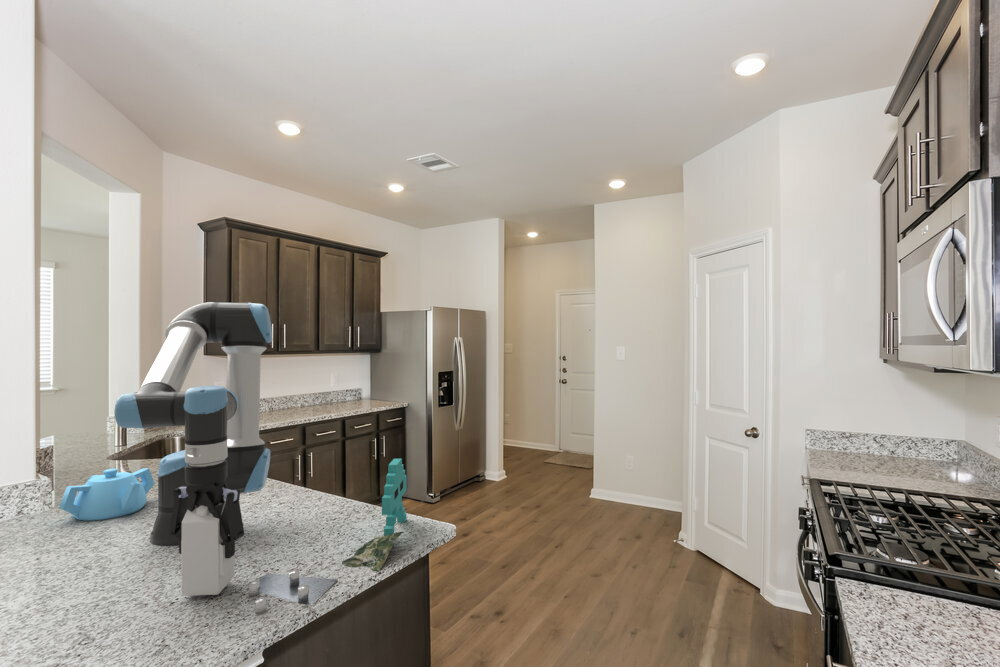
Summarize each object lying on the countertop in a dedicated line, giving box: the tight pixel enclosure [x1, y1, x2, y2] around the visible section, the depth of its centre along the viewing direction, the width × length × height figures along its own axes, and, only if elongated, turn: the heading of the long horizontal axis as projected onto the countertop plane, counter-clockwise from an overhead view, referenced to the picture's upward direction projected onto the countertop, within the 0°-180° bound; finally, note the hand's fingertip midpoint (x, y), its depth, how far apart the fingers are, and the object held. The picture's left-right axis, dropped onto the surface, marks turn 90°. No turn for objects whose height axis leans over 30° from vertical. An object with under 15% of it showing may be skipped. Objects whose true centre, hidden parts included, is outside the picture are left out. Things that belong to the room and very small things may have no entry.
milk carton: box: [181, 496, 236, 597], centre depth 100 cm, size 7×7×19 cm
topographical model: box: [341, 531, 404, 573], centre depth 117 cm, size 16×15×2 cm
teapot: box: [58, 467, 156, 521], centre depth 148 cm, size 19×19×14 cm
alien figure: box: [381, 458, 408, 536], centre depth 133 cm, size 20×2×20 cm, turn 179°
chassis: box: [247, 569, 339, 615], centre depth 98 cm, size 17×17×4 cm
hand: (206, 570), depth 99 cm, fingers closed on milk carton, 8 cm apart
